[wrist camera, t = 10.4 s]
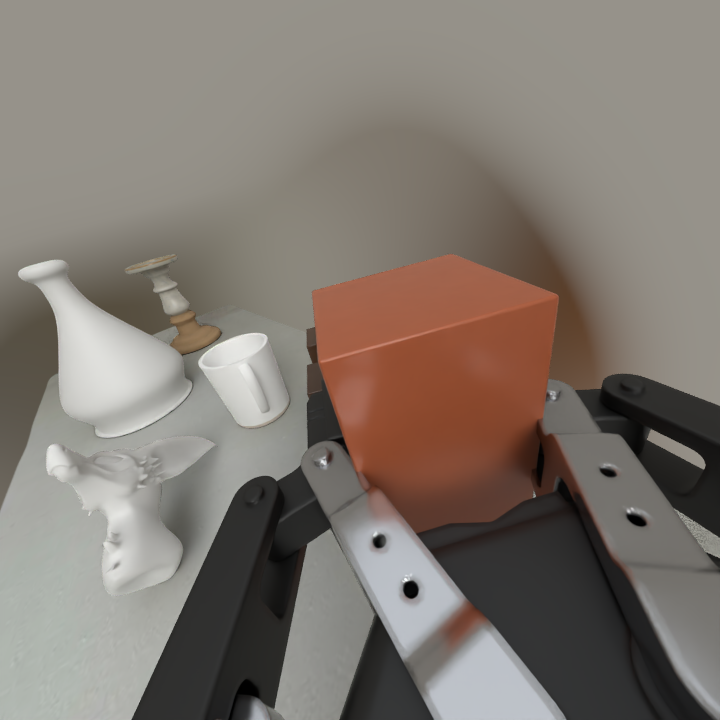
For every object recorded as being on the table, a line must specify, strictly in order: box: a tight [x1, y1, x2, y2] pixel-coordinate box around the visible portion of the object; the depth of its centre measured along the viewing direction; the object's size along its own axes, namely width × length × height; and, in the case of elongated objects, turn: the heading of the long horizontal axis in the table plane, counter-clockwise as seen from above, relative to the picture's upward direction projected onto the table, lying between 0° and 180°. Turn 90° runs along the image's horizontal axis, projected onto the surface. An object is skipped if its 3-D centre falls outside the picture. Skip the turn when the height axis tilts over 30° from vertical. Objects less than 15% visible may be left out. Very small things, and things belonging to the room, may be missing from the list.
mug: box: [199, 333, 290, 429], centre depth 40 cm, size 11×9×10 cm
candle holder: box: [125, 254, 221, 355], centre depth 69 cm, size 12×12×20 cm
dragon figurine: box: [46, 436, 218, 596], centre depth 26 cm, size 12×18×13 cm
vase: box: [18, 260, 192, 438], centre depth 46 cm, size 17×17×25 cm
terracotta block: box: [312, 254, 559, 534], centre depth 11 cm, size 5×5×11 cm
